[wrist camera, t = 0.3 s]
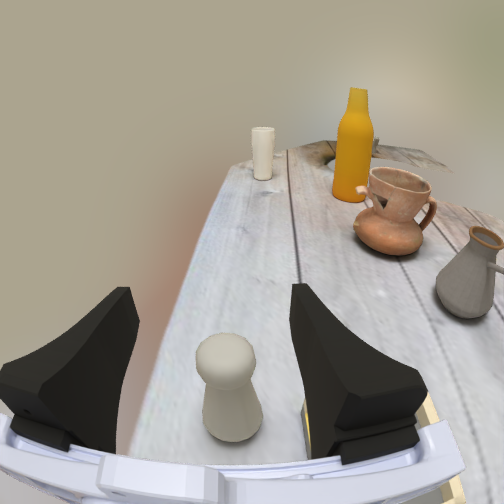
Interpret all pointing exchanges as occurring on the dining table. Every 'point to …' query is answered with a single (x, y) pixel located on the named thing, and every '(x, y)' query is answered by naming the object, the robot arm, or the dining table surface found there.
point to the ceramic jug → (394, 211)
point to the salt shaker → (229, 387)
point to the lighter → (375, 144)
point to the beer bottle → (353, 148)
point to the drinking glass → (262, 151)
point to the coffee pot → (471, 275)
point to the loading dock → (450, 493)
